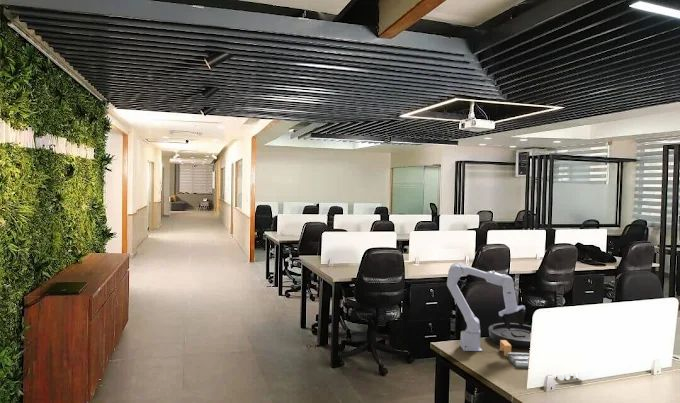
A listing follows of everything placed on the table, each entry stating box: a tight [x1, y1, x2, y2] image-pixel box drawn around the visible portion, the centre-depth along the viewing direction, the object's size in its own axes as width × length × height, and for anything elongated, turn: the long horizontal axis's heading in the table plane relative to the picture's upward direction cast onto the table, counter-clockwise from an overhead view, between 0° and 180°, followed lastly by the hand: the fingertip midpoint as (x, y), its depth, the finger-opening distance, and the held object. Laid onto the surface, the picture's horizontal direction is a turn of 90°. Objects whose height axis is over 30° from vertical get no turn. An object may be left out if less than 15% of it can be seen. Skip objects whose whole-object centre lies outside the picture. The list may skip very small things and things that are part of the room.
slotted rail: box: [506, 351, 530, 369], centre depth 218 cm, size 10×13×2 cm
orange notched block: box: [499, 340, 512, 357], centre depth 230 cm, size 3×8×5 cm, turn 178°
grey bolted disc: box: [488, 322, 532, 351], centre depth 248 cm, size 30×6×30 cm
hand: (514, 327), depth 229 cm, fingers open, 7 cm apart
